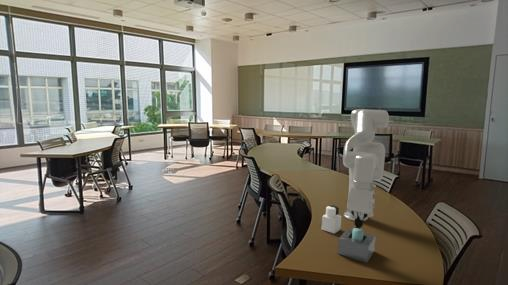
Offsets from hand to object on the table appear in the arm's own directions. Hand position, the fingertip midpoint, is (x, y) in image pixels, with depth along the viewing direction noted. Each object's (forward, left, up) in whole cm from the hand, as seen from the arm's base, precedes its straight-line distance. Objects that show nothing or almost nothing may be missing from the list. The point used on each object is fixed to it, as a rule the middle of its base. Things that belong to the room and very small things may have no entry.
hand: (358, 227), depth 129 cm
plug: (0, 0, -11) cm, 11 cm away
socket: (0, 0, -11) cm, 11 cm away
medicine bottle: (-16, -17, -12) cm, 26 cm away
